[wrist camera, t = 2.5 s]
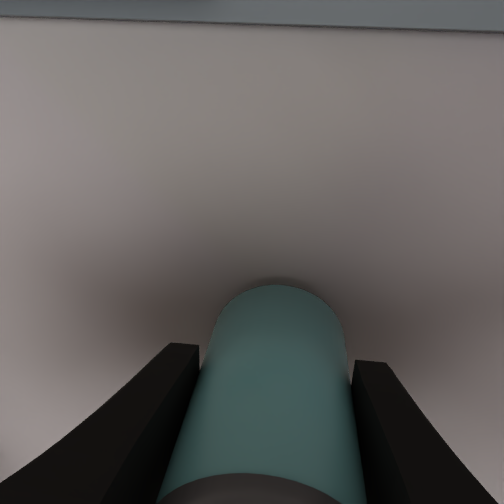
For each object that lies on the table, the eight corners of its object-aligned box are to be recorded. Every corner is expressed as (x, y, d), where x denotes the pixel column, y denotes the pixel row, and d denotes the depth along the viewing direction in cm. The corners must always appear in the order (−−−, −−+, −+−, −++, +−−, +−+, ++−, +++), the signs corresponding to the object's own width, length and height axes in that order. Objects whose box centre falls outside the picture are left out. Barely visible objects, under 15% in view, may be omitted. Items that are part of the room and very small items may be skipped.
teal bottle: (355, 288, 10) (411, 556, 5) (338, 402, 12) (368, 713, 6) (211, 277, 11) (110, 518, 5) (211, 389, 12) (131, 675, 6)
